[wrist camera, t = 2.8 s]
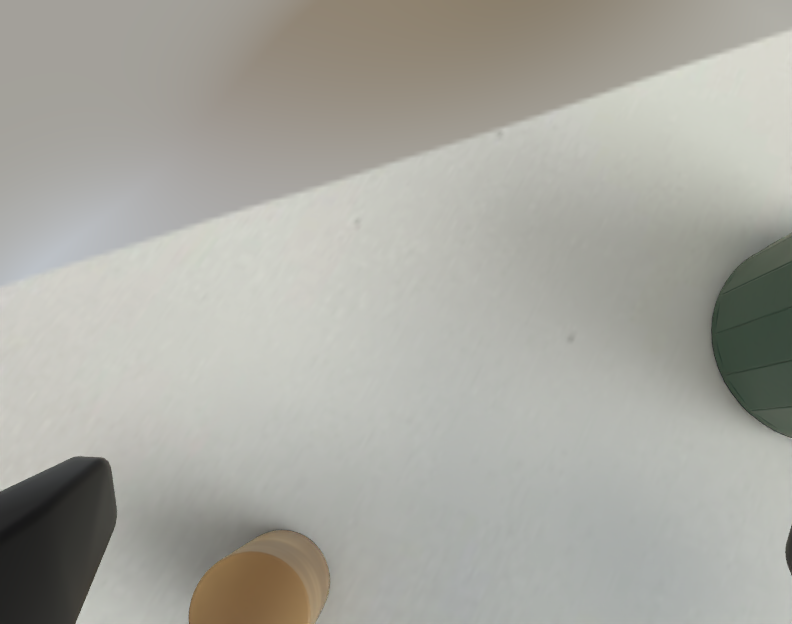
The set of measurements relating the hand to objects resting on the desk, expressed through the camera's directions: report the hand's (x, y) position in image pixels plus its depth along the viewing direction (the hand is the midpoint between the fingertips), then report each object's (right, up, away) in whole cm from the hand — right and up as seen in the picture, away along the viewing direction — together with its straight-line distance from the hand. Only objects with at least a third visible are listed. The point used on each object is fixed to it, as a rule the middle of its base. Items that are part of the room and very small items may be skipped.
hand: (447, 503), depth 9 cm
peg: (-4, -6, +13) cm, 15 cm away
